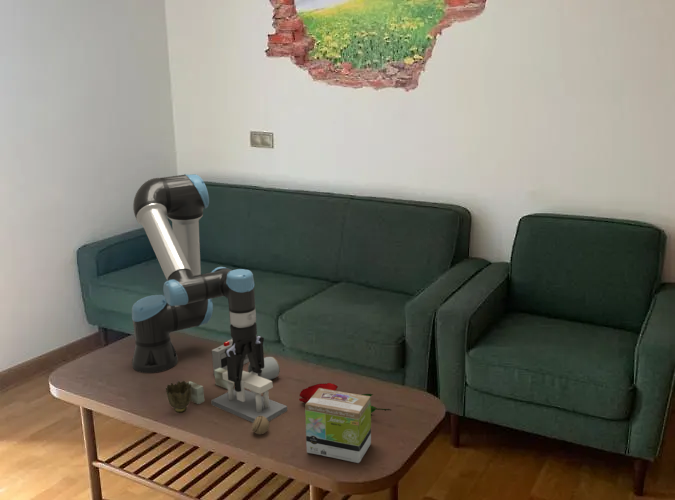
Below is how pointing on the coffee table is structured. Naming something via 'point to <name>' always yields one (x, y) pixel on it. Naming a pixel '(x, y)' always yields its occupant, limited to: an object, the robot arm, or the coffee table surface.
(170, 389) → the cup
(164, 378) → the coffee table surface
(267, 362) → the ceramic mug
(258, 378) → the shelf board
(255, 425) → the walnut
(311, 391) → the flower
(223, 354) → the cassette player
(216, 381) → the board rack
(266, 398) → the peg stand
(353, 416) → the tea box
